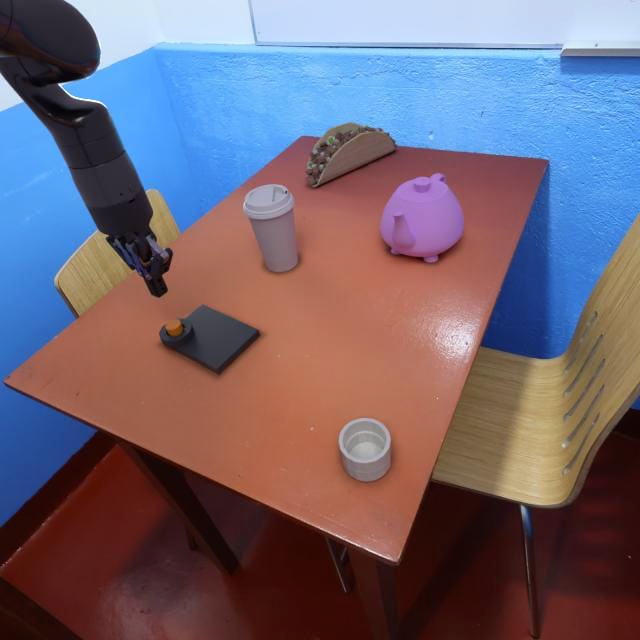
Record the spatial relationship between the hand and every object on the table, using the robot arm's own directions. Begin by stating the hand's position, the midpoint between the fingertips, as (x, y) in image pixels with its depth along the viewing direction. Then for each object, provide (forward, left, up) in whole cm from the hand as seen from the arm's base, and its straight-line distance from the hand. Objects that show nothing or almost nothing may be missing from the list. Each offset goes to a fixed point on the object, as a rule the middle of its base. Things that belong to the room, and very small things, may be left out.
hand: (160, 293), depth 72 cm
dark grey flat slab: (+3, -3, -12) cm, 13 cm away
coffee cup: (+26, 0, -12) cm, 29 cm away
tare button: (0, +2, -9) cm, 9 cm away
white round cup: (-2, -38, -12) cm, 39 cm away
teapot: (+42, -22, -12) cm, 49 cm away
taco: (+67, +10, -12) cm, 69 cm away
